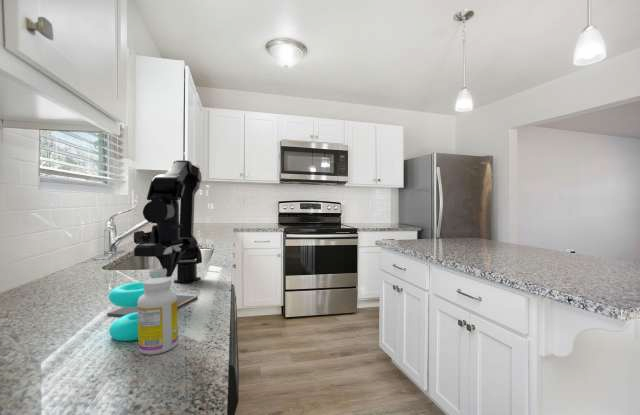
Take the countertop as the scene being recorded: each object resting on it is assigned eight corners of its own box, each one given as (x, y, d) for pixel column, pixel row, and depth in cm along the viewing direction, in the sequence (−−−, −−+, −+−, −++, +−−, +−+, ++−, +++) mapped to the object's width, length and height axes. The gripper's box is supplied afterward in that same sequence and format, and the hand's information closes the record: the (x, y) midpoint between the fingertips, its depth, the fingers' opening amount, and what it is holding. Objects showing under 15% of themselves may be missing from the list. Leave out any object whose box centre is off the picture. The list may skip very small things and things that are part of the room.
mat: (154, 295, 90) (154, 293, 90) (197, 298, 88) (197, 296, 88) (107, 315, 75) (107, 312, 75) (157, 319, 72) (157, 316, 72)
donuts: (164, 288, 63) (105, 295, 58) (165, 336, 63) (106, 348, 58) (163, 277, 71) (112, 283, 67) (164, 320, 72) (112, 328, 67)
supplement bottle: (168, 336, 63) (167, 274, 63) (184, 346, 59) (183, 279, 58) (132, 348, 58) (131, 281, 57) (146, 360, 54) (145, 287, 53)
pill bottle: (153, 307, 78) (152, 272, 78) (143, 303, 82) (142, 270, 81) (173, 301, 83) (172, 269, 83) (163, 298, 86) (162, 266, 86)
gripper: (165, 219, 96) (166, 268, 97) (115, 223, 78) (115, 284, 78) (197, 219, 94) (198, 270, 94) (153, 223, 76) (154, 286, 76)
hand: (168, 276), depth 86 cm, fingers closed
